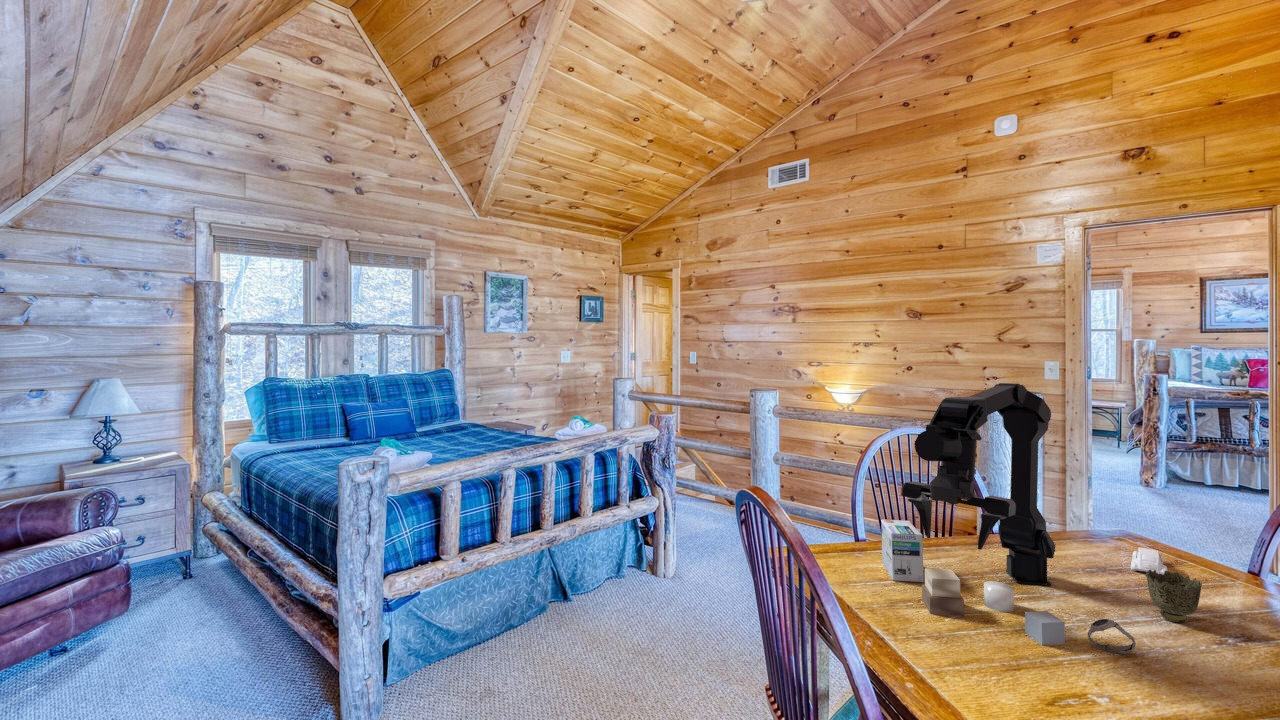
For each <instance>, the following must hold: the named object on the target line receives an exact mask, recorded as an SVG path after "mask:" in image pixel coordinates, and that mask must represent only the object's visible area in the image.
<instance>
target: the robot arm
mask: <svg viewBox="0 0 1280 720" xmlns="http://www.w3.org/2000/svg"><path fill="white" fill-rule="evenodd" d="M995 412H997V413H998V414H999V416H1000V417H1001V418H1002V422H1003V423H1002V426H1003V428H1004V430H1005V431H1006V434H1007V435H1008V436H1009V437H1010V439H1011V455H1010V456H1011V457H1010V458H1011V461H1010V498H1008V497H1002V496H997V495H996V496H995V495H988V496H984V497H979V496H975V491H976V490H975V475H976V474H977V468H976V460H977V459H976V456H977V443H978V441H982V439H983V438H982V436H981V435H980V434H979V433H978V432H977V430H979V429H980V428H981V427H982V426H983V425H985V424H986V423H987V422H988V420H989V419H988V416H989V415H991V414H993V413H995ZM1051 418H1052V411H1051V409H1050V407H1049V406H1048V404H1047V403H1046V401H1045V400H1044V398H1042V397H1040V396H1038V395H1036V394H1035V393H1033V392H1032V391H1029V390H1028V389H1027V387H1025V386H1024V384H1020V383H1015V382H1014V383H1013V382H1012V383H1010V382H1009V383H1008V382H999V383H996V384H994V386H992V387H989V388H986V389H984V390H981V391H980V392H977V393H974V394H973V395H970V396H951V397H950V396H949V397H945V398H943V399H942V400H941V402H940V404H938V407H937V409H936V410H935V412H934V414H933V416H932V418H931V419H930V421H929V424H926V425H925V430H924V431H921V432H920V433H919V434H918V435H917V436H916V439H915V440H914V450H915V453H916V455H917V456H918V457H919V458H921V460H923V461H926V462H941V465H939V468H938V473H937V475H936V476H934V478H933V479H932V480H931V481H930V482H929V483H928V484H927V483H924V482H918V481H907V482H906V481H905V482H904V483H903V484H902V486H901V490H900V491H901V492H900V496H901V497H906V498H907V501H908V502H909V503H911V504H913V506H914V507H915V509H916V510H917V513H918V515H919V519H920V522H921V525H922V529H923V532H924V535H925V537H927V538H929V537H930V536H931V530H932V512H933V511H932V510H933V501H934V502H943V503H948V504H949V505H958V504H961V505H967V506H971V507H977V508H981V509H983V510H984V511H985V512H983V513H981V514H980V517H981V523H980V528H979V534H978V538H977V543H978V544H977V549H978V550H979V551H980V550H982V549H983V547H984V546H985V543H987V542H986V541H987V540H988V538H989V536H990V534H991V533H992V531H993V528H994V527H995V526H996V524H997V523H998V522H999V525H998V536H999V540H1000V544H1001V548H1002V549H1003V548H1004V549H1008V554H1006V570H1005V572H1006V573H1007V574H1008V575H1009V577H1010V578H1011V579H1012V580H1014V582H1016V583H1017V584H1022V585H1023V584H1024V585H1025V584H1026V585H1039V586H1052V582H1051V581H1049V580H1048V559H1054V555H1055V552H1056V544H1055V542H1054V540H1053V539H1052V538H1051V536H1050V534H1049V532H1048V531H1047V522H1046V519H1045V518H1044V516H1043V515H1042V513H1041V512H1040V510H1039V508H1038V477H1039V475H1038V474H1039V472H1038V470H1039V443H1040V440H1041V439H1042V438H1043V436H1044V435H1045V434H1046V433H1047V431H1048V430H1049V422H1051ZM929 498H930V499H929Z"/></svg>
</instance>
